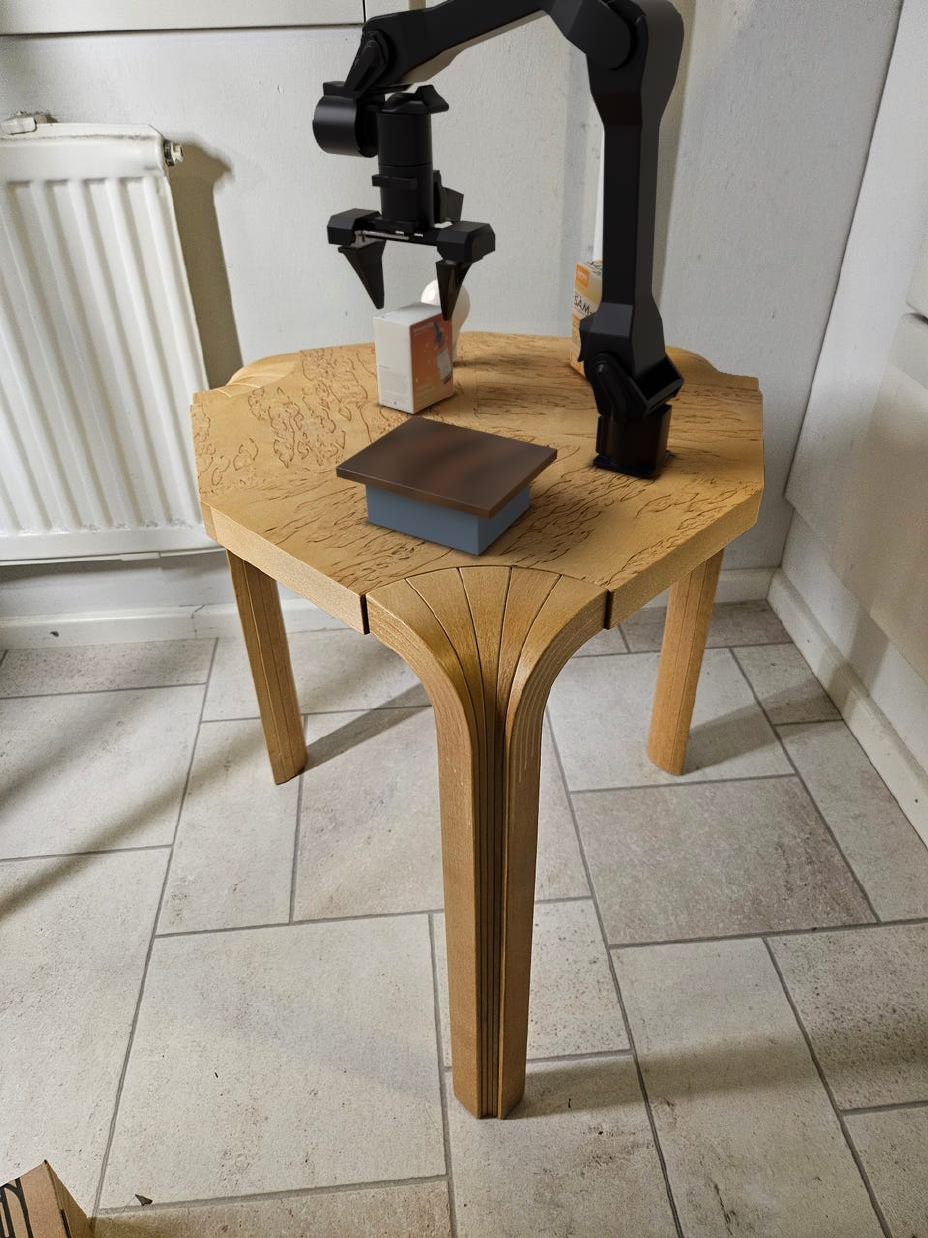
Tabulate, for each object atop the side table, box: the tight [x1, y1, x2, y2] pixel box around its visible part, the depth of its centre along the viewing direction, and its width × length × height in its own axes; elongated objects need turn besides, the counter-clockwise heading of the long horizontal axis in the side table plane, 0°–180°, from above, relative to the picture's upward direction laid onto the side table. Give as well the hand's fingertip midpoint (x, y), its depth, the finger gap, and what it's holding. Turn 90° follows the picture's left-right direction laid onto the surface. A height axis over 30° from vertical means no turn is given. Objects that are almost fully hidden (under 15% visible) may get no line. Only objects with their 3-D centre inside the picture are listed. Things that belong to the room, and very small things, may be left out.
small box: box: [372, 300, 454, 414], centre depth 101 cm, size 8×6×10 cm
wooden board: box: [335, 415, 559, 520], centre depth 79 cm, size 16×13×1 cm
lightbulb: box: [420, 278, 471, 363], centre depth 111 cm, size 6×6×11 cm
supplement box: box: [569, 259, 602, 378], centre depth 106 cm, size 8×5×13 cm, turn 17°
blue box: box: [364, 483, 531, 556], centre depth 80 cm, size 12×10×5 cm
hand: (413, 314), depth 98 cm, fingers open, 9 cm apart
